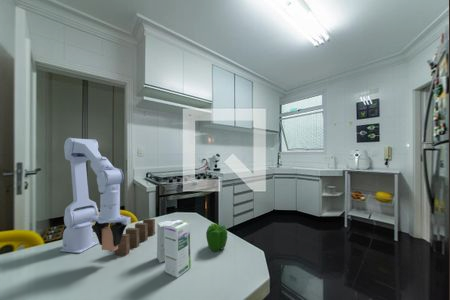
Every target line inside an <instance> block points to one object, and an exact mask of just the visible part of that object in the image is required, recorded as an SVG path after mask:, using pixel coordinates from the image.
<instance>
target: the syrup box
mask: <svg viewBox="0 0 450 300" xmlns="http://www.w3.org/2000/svg"><path fill="white" fill-rule="evenodd" d="M174 221H175V222H172V223H170V224H168V225H165V226H164V239H165V261H164V271H165V272H166V273H167V274H169V275H170V276H173V277H175V278H179V277H180V276H182V275H183V274H184V273H185V272H186V271H187V270H189V269H191V267H192V264H191V263H192V262H191V261H192V260H191V232H190V231H191V230H190V229H191V227H190V226H191V225H190V224H191V223H190V222H189V221H187V220H181V219H177V220H174Z"/></svg>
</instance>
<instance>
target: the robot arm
mask: <svg viewBox="0 0 450 300" xmlns="http://www.w3.org/2000/svg"><path fill="white" fill-rule="evenodd" d="M63 149H64V151H63V152H64V157H65V160H67V161H69V162H70V163H69V164H70V171H71V185H72V197H73V198H72V199H73V201H72V202H71V203H70V204H68V205H67V206H66V207H65V210H64V216H63V222H64V226H65V229H64V230H63V232H62V233H63V234H62V248H61V249H59V251H60V252H66V253H75V254H81V253H83V252H85V251H86V250H88V249H90V248H92V247H94V246H96V245H97V244H99V246H102V229H103V228H105V227H110V229H111V231H112V234H113V245H114V246H117V245H119V244H120V242H121V238H122V235H123V234H124V232H125V231H126V229H127V228H126V227H127V226H128V225H129V224H131V221H132V219H131V216H126V215H122V214H121V185H122V184H123V182H124V176H125V175H124V172H123V171H122V169H121V168H117V167H115V166H114V165H113V164H112V163H111V161H110V160H109V159H108V158H107V157H106V156H102V154H101V153H100V151H99V143H98V140H97V139H95V138H94V139H89V138H73V137H68V138H66V140H65V142H64V145H63ZM87 161H90V168H91V169H92V171H93V172H94V174H95V175H96V184H97V187H98V189H97V190H98V192H99V195H100V202H99V204H100V205H99V206H100V207H99V208H98V206H97V202H95V201H93V200H91V199H90V196H89V186H88V185H89V184H88V175H87V174H88V173H87V165H86V164H87ZM78 208H79V209H78ZM99 212H100V213H99ZM110 224H114V225H110ZM94 233H95V235H96V237H97V239H98V241H93V239H94V238H93V237H94V236H93V235H94Z"/></svg>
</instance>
